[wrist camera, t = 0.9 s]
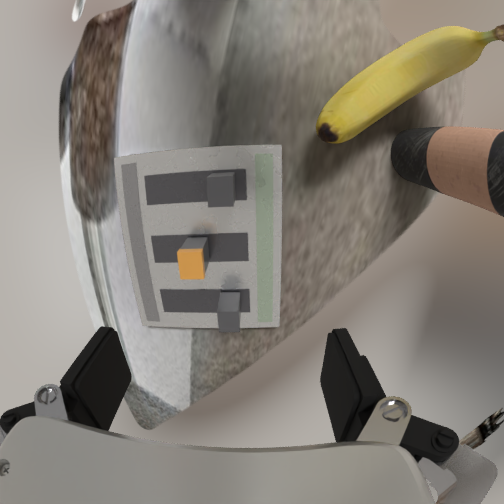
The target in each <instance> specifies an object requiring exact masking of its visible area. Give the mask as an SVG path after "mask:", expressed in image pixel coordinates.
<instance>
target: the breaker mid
mask: <svg viewBox="0 0 504 504" xmlns="http://www.w3.org/2000/svg"><path fill="white" fill-rule="evenodd" d="M177 258H178V265H179V273H180V279H204V278H205V273H206V270H207V267H208V264H209V261H210V258H209V246H208V237H190V238H187V239H186V240H185V242H184V243H183V245H182V247H181V248H180V249H179V250H178V252H177Z"/></svg>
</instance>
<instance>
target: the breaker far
mask: <svg viewBox="0 0 504 504" xmlns="http://www.w3.org/2000/svg"><path fill="white" fill-rule="evenodd" d="M217 318H218V327H219V332H240V318H241V306H240V292H220V297H219V303H218V308H217Z"/></svg>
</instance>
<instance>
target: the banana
mask: <svg viewBox="0 0 504 504" xmlns="http://www.w3.org/2000/svg"><path fill="white" fill-rule="evenodd" d="M495 40H502V41H504V25H501V26H497V27H496V28H495V29H493V30H491V31H488V32H477V31H472V30H469V29H466V28H463V27H457V26H448V27H442V28H439V29H435V30H433V31H430V32H428V33H426V34H423V35H421V36H419V37H417V38H415V39H413V40H411V41H409V42H407V43H406V44H404V45H402V46H401V47H399V48H397V49H395V50H394V51H392V52H390V53H389V54H387V55H386V56H384V57H382V58H381V59H379V60H378V61H376V62H375V63H373V64H372V65H370V66H369V67H367V68H366V69H364V70H363V71H362V72H360V73H359V74H357V75H356V76H355V77H353V78H352V79H351V80H350V81H349V82H347V83H346V84H345V85H344V86H343V87H342V88H341V89H340V90H339V91H338V92H337V93H336V94H335V95H334V96H333V97H332V98H331V99H330V100H329V101H328V102H327V103H326V105H325V106H324V108H323V109H322V111H321V113H320V115H319V117H318V120H317V123H316V132H317V135H318V136H319V137H320V138H321V140H323V141H325V142H327V143H342V142H345V141H348V140H350V139H352V138H353V137H355V136H356V135H358V134H359V133H360V132H362V131H363V130H365V129H366V128H367V127H369V126H370V125H372V124H373V123H375V122H376V121H378V120H379V119H380V118H382V117H383V116H385V115H386V114H388V113H389V112H391V111H392V110H393V109H395V108H396V107H398V106H399V105H401V104H402V103H404V102H405V101H407V100H408V99H410V98H412V97H413V96H415V95H416V94H418V93H420V92H421V91H423V90H425V89H427V88H429V87H431V86H432V85H434V84H436V83H438V82H440V81H442V80H444V79H446V78H448V77H450V76H452V75H454V74H456V73H458V72H460V71H462V70H464V69H466V68H467V67H469V66H470V65H472V64H473V63H474V62H475V61H477V60H478V58H479V56H480V55H481V52H482V50H483V49H484V47H485V46H486V45H487V44H488V43H490V42H492V41H495Z"/></svg>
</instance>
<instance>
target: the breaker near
mask: <svg viewBox="0 0 504 504" xmlns="http://www.w3.org/2000/svg"><path fill="white" fill-rule="evenodd" d="M206 179H207V197H208V207H234V203H235V199H236V189H235V172H223V173H212V174H210V175H209V176H207V177H206Z"/></svg>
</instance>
